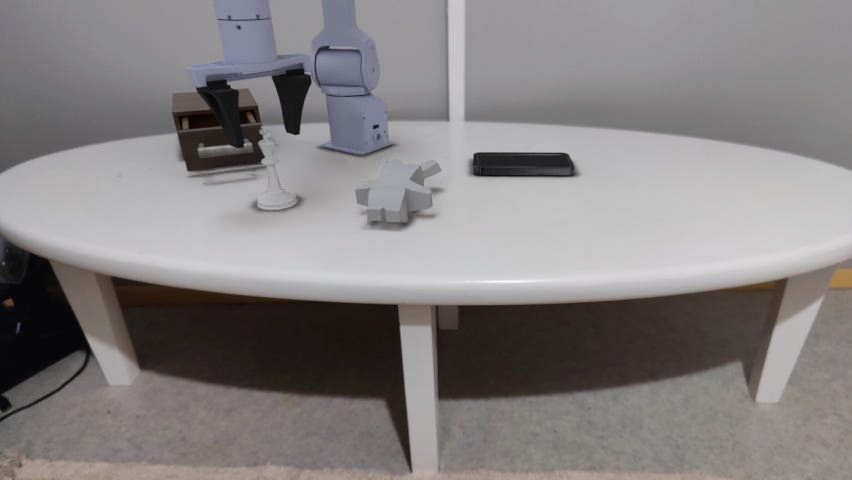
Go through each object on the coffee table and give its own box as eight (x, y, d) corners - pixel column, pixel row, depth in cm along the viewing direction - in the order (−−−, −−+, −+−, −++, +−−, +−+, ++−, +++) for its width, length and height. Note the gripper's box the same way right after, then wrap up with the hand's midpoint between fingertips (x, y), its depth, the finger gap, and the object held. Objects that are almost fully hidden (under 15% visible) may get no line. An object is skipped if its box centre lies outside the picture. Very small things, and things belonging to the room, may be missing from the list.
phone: (473, 152, 89) (567, 152, 89) (473, 159, 89) (567, 159, 89) (473, 167, 82) (575, 168, 82) (473, 175, 82) (574, 175, 82)
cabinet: (266, 150, 93) (257, 105, 90) (183, 159, 88) (171, 112, 85) (255, 128, 105) (248, 88, 102) (183, 135, 101) (172, 93, 97)
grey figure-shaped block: (340, 194, 64) (378, 143, 76) (347, 233, 67) (382, 178, 79) (421, 199, 63) (447, 147, 75) (424, 238, 66) (448, 181, 78)
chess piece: (283, 193, 76) (270, 119, 71) (304, 202, 73) (292, 125, 68) (250, 203, 72) (234, 126, 68) (271, 213, 70) (255, 133, 65)
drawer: (273, 171, 81) (266, 132, 78) (187, 181, 77) (177, 141, 74) (258, 138, 96) (251, 104, 94) (186, 146, 92) (177, 110, 89)
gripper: (281, 13, 69) (297, 123, 76) (161, 20, 59) (191, 146, 66) (316, 16, 65) (330, 132, 72) (193, 24, 55) (222, 158, 62)
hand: (266, 139), depth 69 cm, fingers open, 7 cm apart
